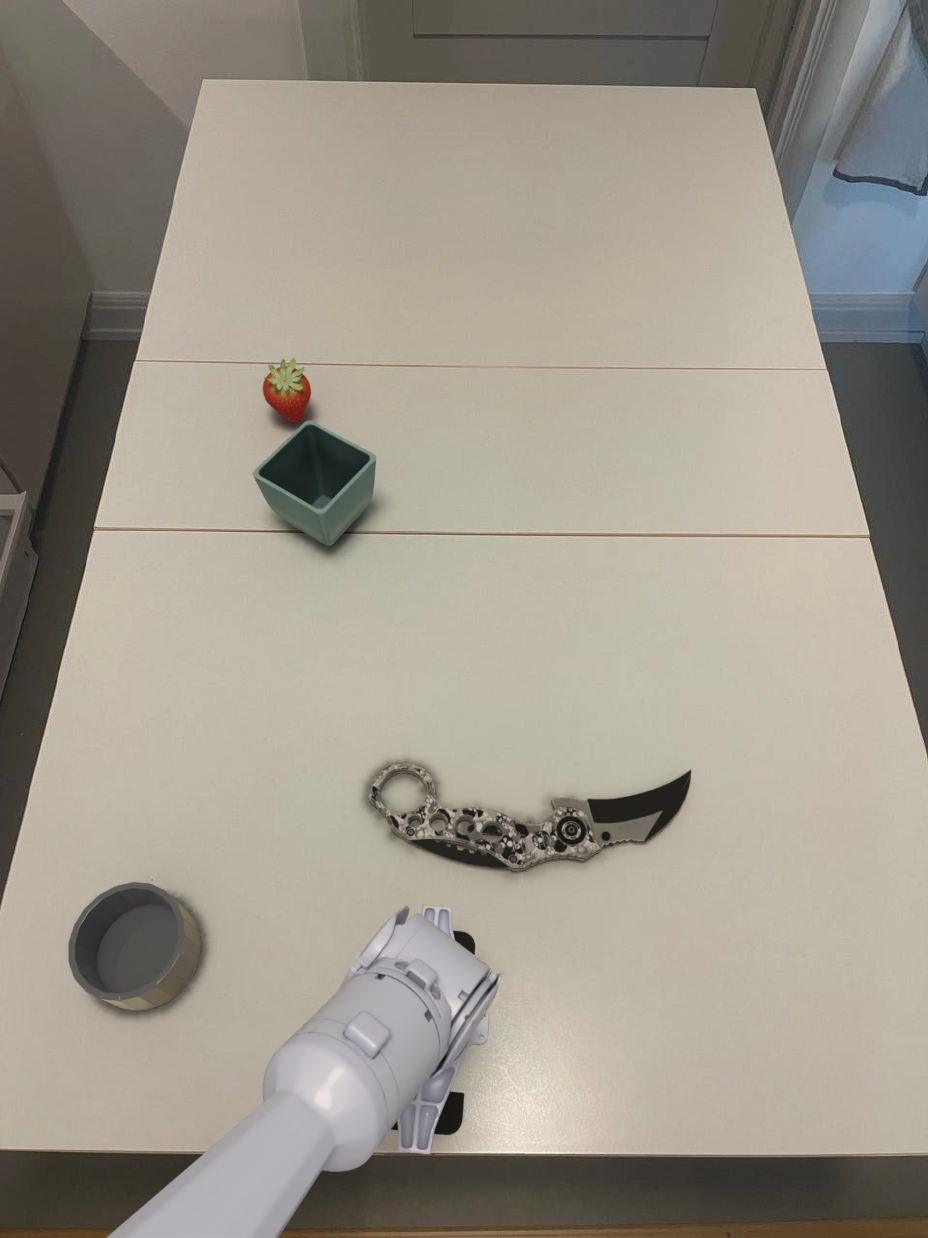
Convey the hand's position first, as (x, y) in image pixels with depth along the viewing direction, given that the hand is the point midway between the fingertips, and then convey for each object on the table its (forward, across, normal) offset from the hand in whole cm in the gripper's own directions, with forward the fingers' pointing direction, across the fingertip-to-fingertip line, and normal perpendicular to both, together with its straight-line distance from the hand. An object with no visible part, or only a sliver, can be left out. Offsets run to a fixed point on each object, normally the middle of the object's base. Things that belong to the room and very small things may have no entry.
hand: (428, 1036), depth 65 cm
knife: (+4, +18, -7) cm, 20 cm away
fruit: (+4, +62, +22) cm, 66 cm away
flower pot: (+4, +48, +16) cm, 51 cm away
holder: (+4, +4, +23) cm, 24 cm away
